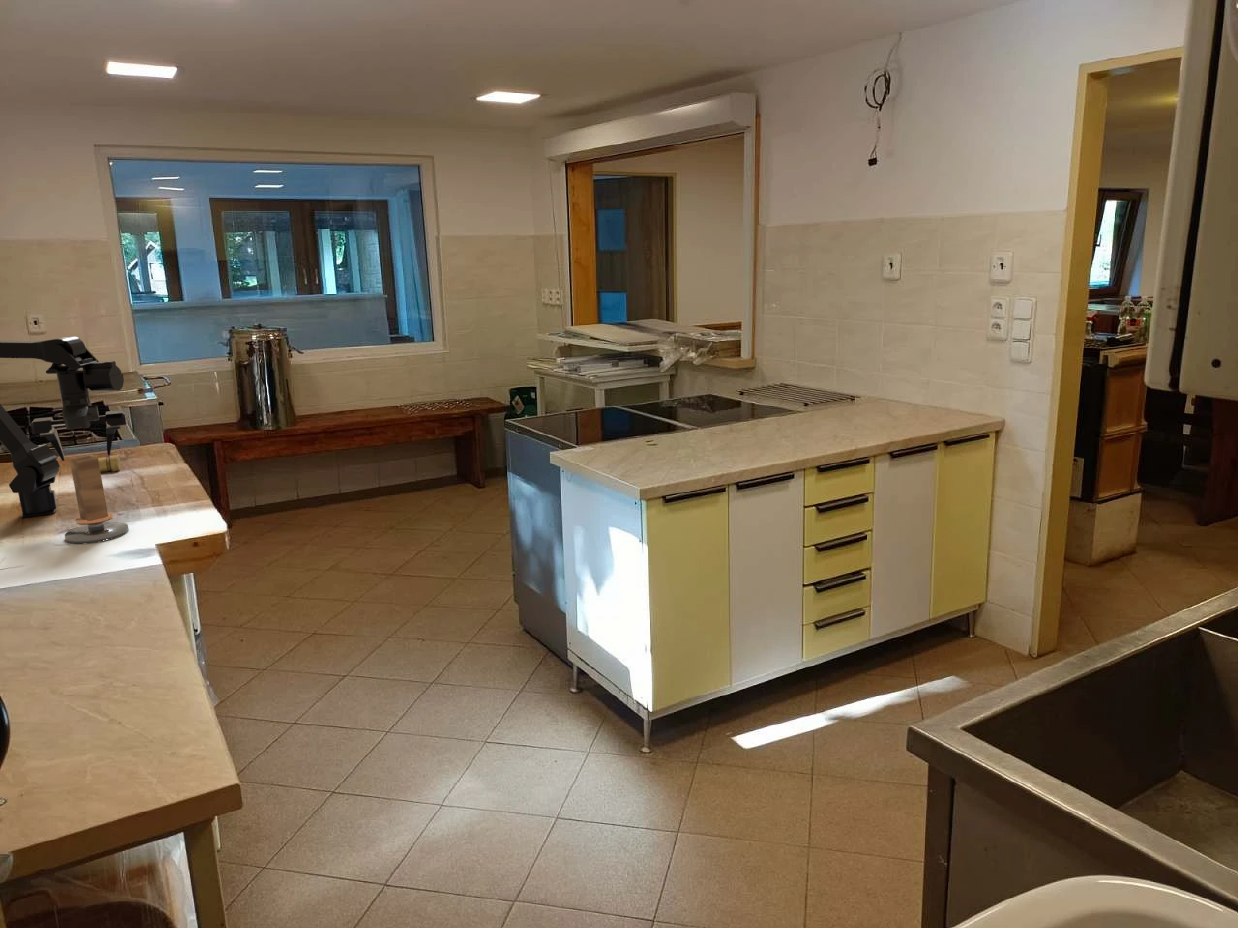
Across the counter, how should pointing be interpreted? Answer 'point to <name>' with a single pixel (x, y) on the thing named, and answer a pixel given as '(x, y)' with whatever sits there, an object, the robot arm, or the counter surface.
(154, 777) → the counter surface
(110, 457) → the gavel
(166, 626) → the counter surface
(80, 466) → the walnut stick
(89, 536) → the copper topped disc
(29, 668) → the counter surface
